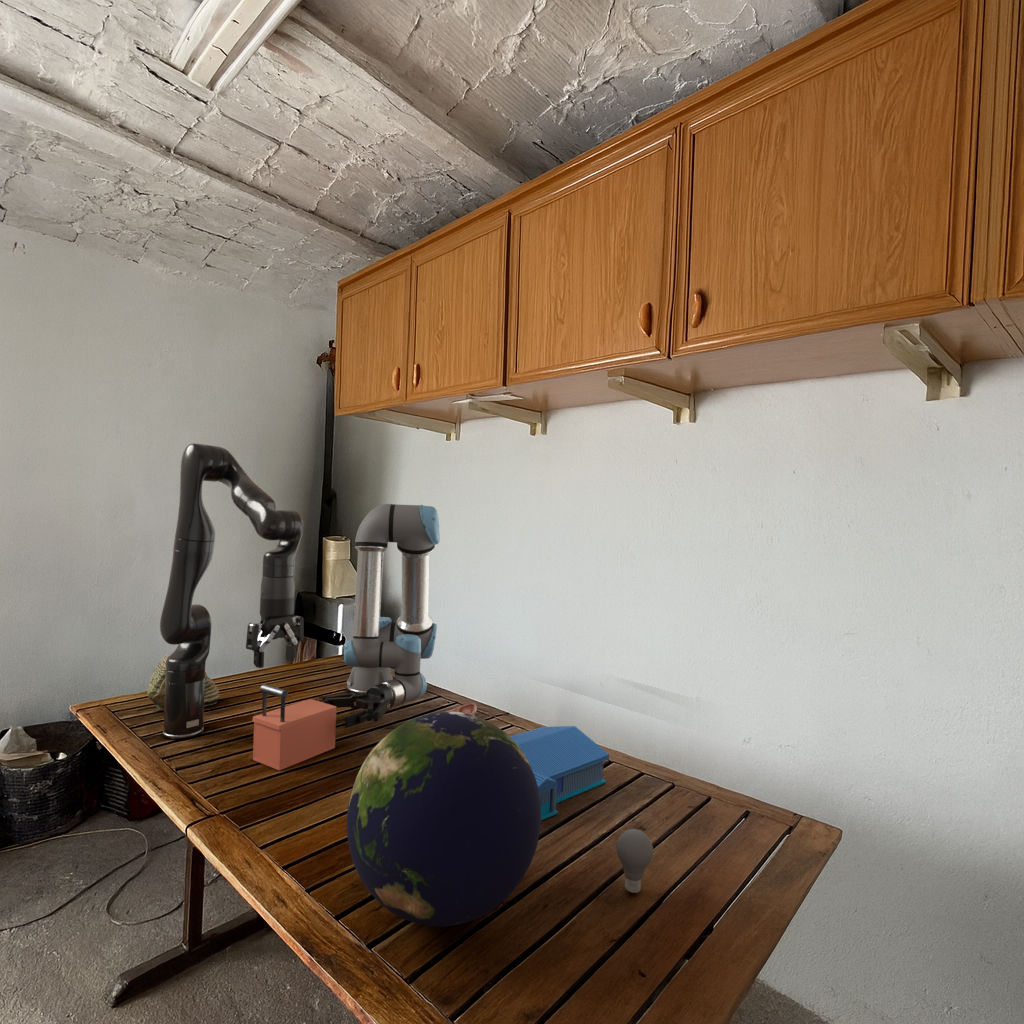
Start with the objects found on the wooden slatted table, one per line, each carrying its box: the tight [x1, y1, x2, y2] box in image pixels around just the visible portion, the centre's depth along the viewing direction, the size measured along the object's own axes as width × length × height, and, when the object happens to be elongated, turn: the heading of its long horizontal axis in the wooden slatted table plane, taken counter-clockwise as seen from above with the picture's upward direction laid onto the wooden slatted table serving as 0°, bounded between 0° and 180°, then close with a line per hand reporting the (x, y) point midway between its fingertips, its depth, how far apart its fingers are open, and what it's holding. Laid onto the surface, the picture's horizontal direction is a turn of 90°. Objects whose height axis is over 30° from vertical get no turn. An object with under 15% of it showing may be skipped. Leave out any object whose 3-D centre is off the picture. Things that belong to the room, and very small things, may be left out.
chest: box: [252, 710, 337, 771], centre depth 155 cm, size 17×10×9 cm, turn 148°
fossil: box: [147, 654, 221, 712], centre depth 185 cm, size 9×18×15 cm, turn 132°
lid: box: [252, 683, 337, 730], centre depth 155 cm, size 17×10×9 cm, turn 148°
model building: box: [509, 725, 610, 822], centre depth 140 cm, size 39×24×10 cm, turn 132°
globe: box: [346, 711, 542, 928], centre depth 99 cm, size 30×30×30 cm
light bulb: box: [615, 828, 654, 894], centre depth 106 cm, size 6×6×10 cm
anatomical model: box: [444, 702, 478, 716], centre depth 183 cm, size 13×4×12 cm
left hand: (275, 663), depth 149 cm, fingers open, 8 cm apart
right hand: (327, 716), depth 162 cm, fingers open, 13 cm apart
